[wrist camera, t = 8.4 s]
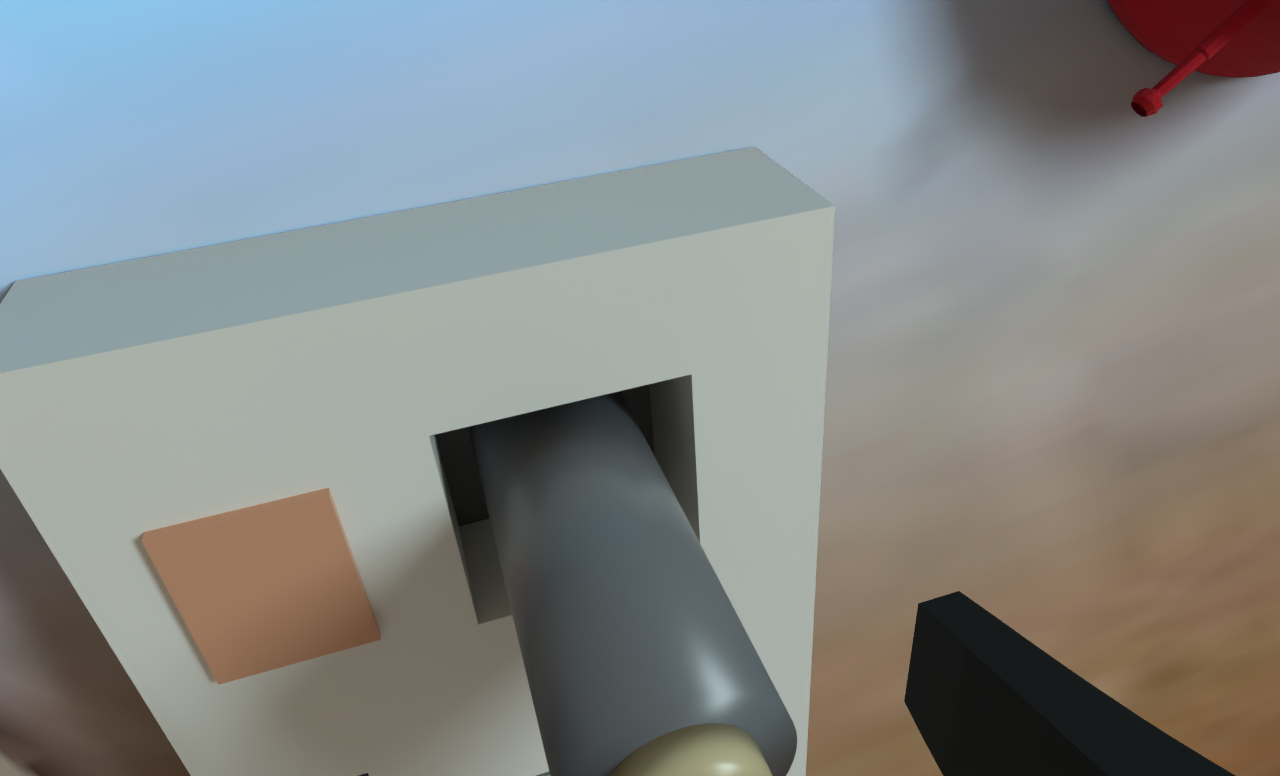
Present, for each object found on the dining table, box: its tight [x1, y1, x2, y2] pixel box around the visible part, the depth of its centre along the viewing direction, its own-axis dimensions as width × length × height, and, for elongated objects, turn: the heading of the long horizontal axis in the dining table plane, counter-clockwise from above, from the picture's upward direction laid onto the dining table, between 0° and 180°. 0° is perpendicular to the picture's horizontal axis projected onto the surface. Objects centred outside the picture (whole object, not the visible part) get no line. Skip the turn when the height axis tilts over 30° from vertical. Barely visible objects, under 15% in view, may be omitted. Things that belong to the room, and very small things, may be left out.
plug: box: [469, 391, 797, 776], centre depth 14 cm, size 3×3×9 cm
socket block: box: [0, 147, 835, 776], centre depth 18 cm, size 18×12×3 cm, turn 5°
